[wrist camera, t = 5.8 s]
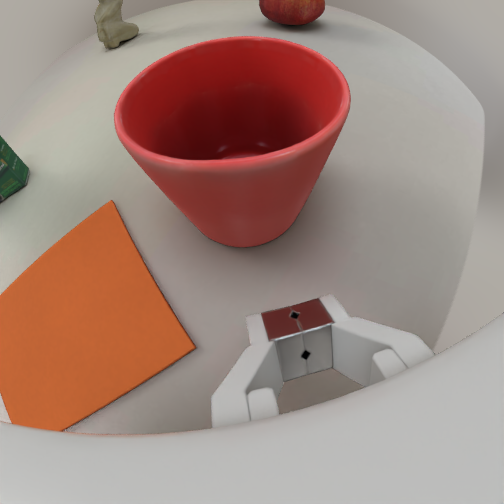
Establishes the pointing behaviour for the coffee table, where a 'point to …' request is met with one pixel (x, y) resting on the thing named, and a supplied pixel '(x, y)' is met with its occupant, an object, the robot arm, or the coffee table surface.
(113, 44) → the sculpture
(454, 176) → the coffee table surface
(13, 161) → the coffee box
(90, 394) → the cloth
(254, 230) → the flower pot
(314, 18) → the fruit
